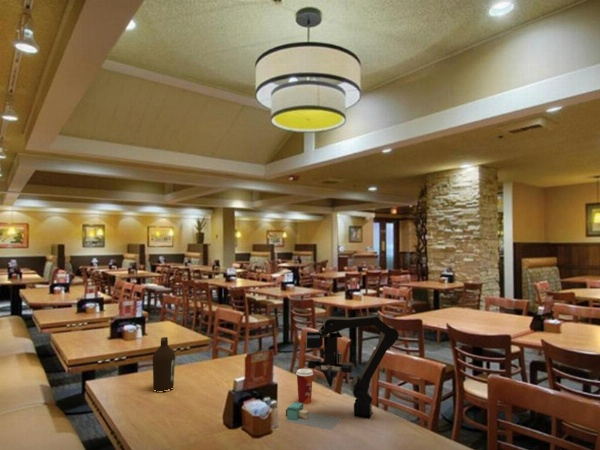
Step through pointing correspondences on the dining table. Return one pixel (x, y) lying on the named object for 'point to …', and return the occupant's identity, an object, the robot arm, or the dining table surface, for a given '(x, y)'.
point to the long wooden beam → (302, 414)
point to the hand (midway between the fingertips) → (330, 386)
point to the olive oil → (163, 367)
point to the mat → (318, 421)
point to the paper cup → (304, 385)
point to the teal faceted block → (294, 410)
